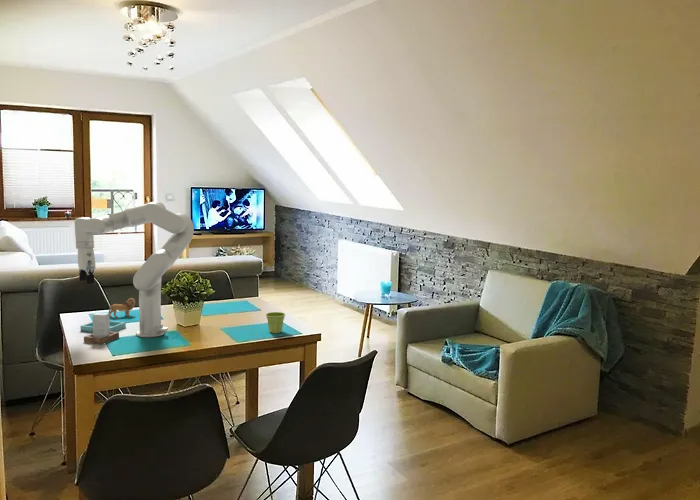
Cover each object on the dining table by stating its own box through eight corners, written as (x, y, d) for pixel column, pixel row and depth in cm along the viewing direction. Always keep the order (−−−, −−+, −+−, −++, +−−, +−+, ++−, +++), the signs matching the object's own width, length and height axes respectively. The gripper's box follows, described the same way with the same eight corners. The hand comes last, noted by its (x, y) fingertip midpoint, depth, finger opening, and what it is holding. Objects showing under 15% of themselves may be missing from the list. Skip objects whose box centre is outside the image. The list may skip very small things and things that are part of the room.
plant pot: (266, 334, 283) (267, 317, 282) (264, 329, 292) (264, 312, 291) (286, 334, 285) (286, 316, 284) (283, 328, 294) (283, 311, 293)
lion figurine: (133, 313, 317) (133, 296, 316) (137, 315, 313) (136, 298, 312) (104, 317, 308) (104, 300, 306) (108, 319, 303) (107, 301, 302)
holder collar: (119, 337, 272) (118, 332, 271) (102, 344, 261) (101, 338, 261) (101, 335, 274) (101, 330, 274) (84, 342, 264) (83, 336, 263)
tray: (125, 327, 289) (125, 322, 289) (107, 334, 277) (107, 329, 276) (99, 324, 293) (99, 319, 293) (80, 331, 281) (80, 325, 280)
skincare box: (110, 338, 270) (109, 312, 268) (106, 341, 266) (106, 315, 264) (96, 338, 270) (95, 312, 268) (93, 341, 265) (92, 314, 264)
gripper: (100, 246, 268) (102, 283, 270) (87, 242, 281) (89, 278, 283) (82, 247, 263) (84, 285, 265) (70, 243, 276) (72, 280, 278)
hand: (86, 281), depth 274 cm, fingers open, 9 cm apart
